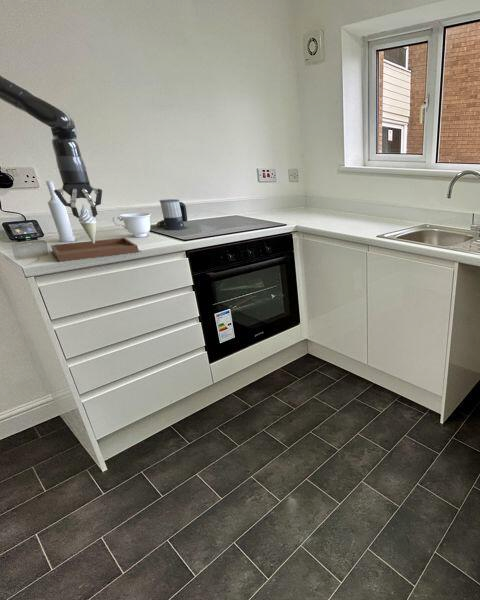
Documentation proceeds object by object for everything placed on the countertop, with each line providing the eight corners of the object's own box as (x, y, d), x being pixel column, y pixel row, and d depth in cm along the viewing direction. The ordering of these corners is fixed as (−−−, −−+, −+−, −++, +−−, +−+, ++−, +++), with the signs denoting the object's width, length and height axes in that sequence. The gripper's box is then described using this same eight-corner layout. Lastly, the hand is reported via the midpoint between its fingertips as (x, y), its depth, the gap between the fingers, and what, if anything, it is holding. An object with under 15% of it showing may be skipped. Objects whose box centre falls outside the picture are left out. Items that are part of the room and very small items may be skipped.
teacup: (116, 235, 167) (110, 214, 163) (153, 232, 176) (148, 212, 172) (118, 240, 158) (112, 217, 155) (157, 236, 168) (152, 215, 164)
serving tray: (59, 261, 124) (57, 254, 123) (52, 251, 136) (50, 245, 135) (138, 251, 141) (137, 245, 140) (126, 243, 153) (125, 237, 152)
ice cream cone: (85, 242, 137) (74, 203, 132) (101, 241, 141) (91, 203, 135) (85, 245, 134) (74, 204, 129) (102, 243, 137) (92, 204, 132)
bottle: (76, 239, 158) (58, 180, 148) (75, 241, 154) (57, 181, 145) (60, 240, 154) (41, 180, 145) (59, 242, 151) (40, 181, 142)
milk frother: (180, 230, 185) (174, 201, 179) (148, 229, 183) (141, 200, 177) (191, 225, 198) (186, 198, 193) (161, 225, 196) (155, 197, 190)
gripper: (95, 169, 135) (107, 214, 141) (44, 168, 125) (59, 217, 131) (99, 170, 130) (111, 216, 136) (46, 169, 120) (62, 219, 126)
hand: (86, 216), depth 133 cm, fingers closed on ice cream cone, 4 cm apart
